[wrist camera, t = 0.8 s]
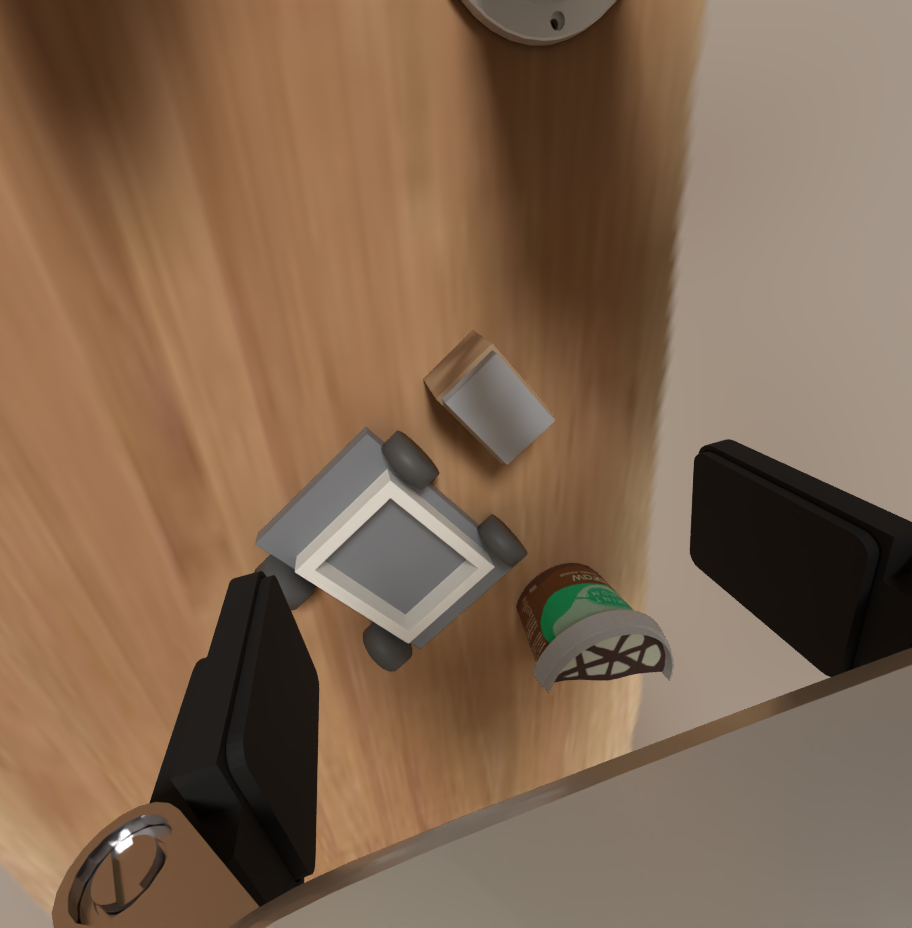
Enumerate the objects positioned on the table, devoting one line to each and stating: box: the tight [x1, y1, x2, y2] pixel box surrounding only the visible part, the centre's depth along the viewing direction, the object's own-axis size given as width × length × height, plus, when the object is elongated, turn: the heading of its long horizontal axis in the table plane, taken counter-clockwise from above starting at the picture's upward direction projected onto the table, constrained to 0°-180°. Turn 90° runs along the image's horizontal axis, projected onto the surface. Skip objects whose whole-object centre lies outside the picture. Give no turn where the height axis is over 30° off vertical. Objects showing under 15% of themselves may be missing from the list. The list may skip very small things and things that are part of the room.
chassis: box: [254, 427, 527, 671], centre depth 39 cm, size 15×18×4 cm
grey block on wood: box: [423, 330, 555, 465], centre depth 34 cm, size 5×7×6 cm
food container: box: [517, 563, 674, 693], centre depth 42 cm, size 12×6×10 cm, turn 81°
